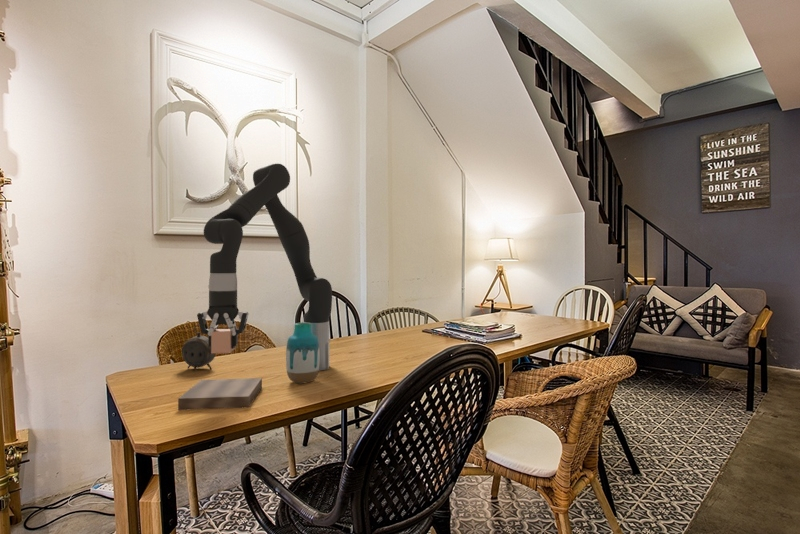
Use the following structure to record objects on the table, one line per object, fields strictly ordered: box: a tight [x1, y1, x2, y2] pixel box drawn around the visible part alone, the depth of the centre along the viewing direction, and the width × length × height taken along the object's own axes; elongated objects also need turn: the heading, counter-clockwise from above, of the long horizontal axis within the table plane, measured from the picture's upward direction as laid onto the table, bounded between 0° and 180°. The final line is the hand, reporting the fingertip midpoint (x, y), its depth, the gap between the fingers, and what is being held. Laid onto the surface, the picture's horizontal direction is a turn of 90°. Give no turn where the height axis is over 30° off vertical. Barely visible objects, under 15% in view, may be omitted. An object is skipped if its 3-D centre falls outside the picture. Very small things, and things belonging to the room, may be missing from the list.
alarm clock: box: [181, 324, 217, 372], centre depth 156 cm, size 11×5×16 cm, turn 84°
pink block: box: [211, 328, 235, 354], centre depth 124 cm, size 5×5×6 cm
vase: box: [285, 321, 320, 384], centre depth 141 cm, size 11×11×19 cm
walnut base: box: [177, 377, 263, 411], centre depth 124 cm, size 18×18×3 cm
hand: (223, 347), depth 124 cm, fingers closed on pink block, 5 cm apart
